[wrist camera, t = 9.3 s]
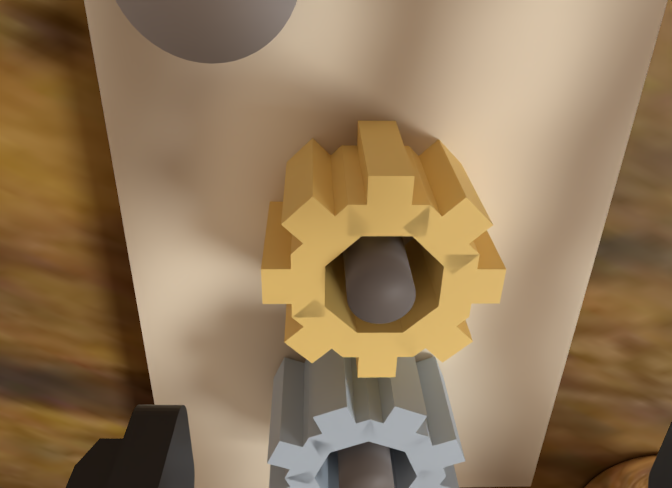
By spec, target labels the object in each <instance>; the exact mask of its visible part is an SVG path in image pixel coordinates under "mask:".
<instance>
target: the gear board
mask: <svg viewBox="0 0 672 488" xmlns="http://www.w3.org/2000/svg"><path fill="white" fill-rule="evenodd" d="M667 1H668V0H84V3H85V9H86V15H87V20H88V26H89V32H90V38H91V43H92V49H93V55H94V61H95V66H96V72H97V78H98V83H99V89H100V95H101V101H102V106H103V112H104V118H105V124H106V129H107V135H108V141H109V146H110V152H111V158H112V164H113V169H114V175H115V181H116V186H117V192H118V198H119V204H120V209H121V215H122V221H123V227H124V232H125V238H126V244H127V249H128V255H129V261H130V267H131V272H132V278H133V284H134V290H135V295H136V301H137V307H138V312H139V318H140V324H141V330H142V335H143V341H144V347H145V353H146V358H147V364H148V370H149V375H150V381H151V387H152V393H153V398H154V404H155V405H185V406H186V409H187V414H188V422H189V429H190V437H191V445H192V453H193V460H194V470H195V482H194V488H269V479H270V465H271V464H267V458H268V445H269V432H270V419H271V406H272V392H273V379H274V376H275V374H276V372H277V371H278V369H279V367H280V365H281V363H282V361H283V359H284V357H286V358H289V359H293V360H296V361H299V362H302V363H305V361H306V358H304V357H303V356H302V355H300V354H299V353H298V352H296V351H295V350H294V349H292V348H291V347H290V346H288V345H287V344H286V343H284V337H285V320H286V304H263V303H262V282H261V265H262V257H263V249H264V242H265V234H266V226H267V219H268V211H269V203H270V201H276V202H283V196H284V185H285V174H286V163H287V161H288V160H290V159H291V158H292V157H293V156H294V155H295V154H296V153H297V152H298V151H299V150H300V149H301V148H302V147H303V146H304V145H306V144H307V143H308V142H309V141H310V140H311V139H312V138H313V139H314V140H315V141H316V142H317V143H318V144H319V145H320V146H321V147H323V148H324V149H325V150H326V151H327V152H328V153H329V154H330V155H332V154H333V153H334V152H335V151H336V150H337V149H338V148H339V147H340V146H342V145H355V146H357V133H358V121H396V123H397V126H398V129H399V132H400V135H401V138H402V141H403V144H404V146H410V147H411V149H412V150H413V151H414V152H415V153H416V154H417V155H418V156H419V155H421V154H422V153H423V152H424V151H425V150H426V149H428V148H429V147H430V146H431V145H432V144H433V143H435V142H436V141H437V140H438V139H439V140H440V141H441V142H442V143H443V144H444V145H445V146H446V148H447V149H448V150H449V151H450V152H451V153H452V154H453V155H454V156H455V157H456V158H457V159H458V161H459V162H460V163H461V164H462V166H463V168H464V170H465V172H466V174H467V175H468V177H469V179H470V181H471V183H472V185H473V187H474V189H475V191H476V193H477V195H478V197H479V198H480V200H481V202H482V204H483V206H484V208H485V210H486V212H487V214H488V216H489V218H490V220H491V222H492V223H493V226H492V227H490V228H489V229H488V230H487V231H488V233H489V235H490V237H491V239H492V241H493V243H494V245H495V247H496V249H497V251H498V254H499V256H500V258H501V260H502V262H503V264H504V266H505V268H506V274H505V279H504V284H503V289H502V294H501V299H500V304H471V309H470V315H469V318H467V319H466V323H467V325H468V328H469V331H470V334H471V337H472V340H473V342H472V343H470V344H469V345H467V346H466V347H464V348H463V349H462V350H460V351H459V352H457V353H456V354H454V355H453V356H452V357H450V358H449V359H447V360H446V361H444V362H443V363H442V362H441V361H440V360H439V359H438V358H436V360H437V362H438V365H439V367H440V370H441V372H442V375H443V377H444V381H445V385H446V389H447V393H448V397H449V400H450V404H451V408H452V412H453V416H454V419H455V423H456V427H457V431H458V435H459V438H460V442H461V446H462V450H463V454H464V457H465V461H464V462H461V463H457V464H454V468H455V472H456V477H457V481H458V485H459V487H529V486H531V483H532V480H533V476H534V473H535V469H536V466H537V462H538V458H539V455H540V451H541V448H542V444H543V441H544V437H545V434H546V430H547V427H548V423H549V419H550V416H551V412H552V409H553V405H554V402H555V398H556V395H557V391H558V388H559V384H560V380H561V377H562V373H563V370H564V366H565V363H566V359H567V356H568V352H569V349H570V345H571V341H572V338H573V334H574V331H575V327H576V324H577V320H578V317H579V313H580V310H581V306H582V302H583V299H584V295H585V292H586V288H587V285H588V281H589V278H590V274H591V270H592V267H593V263H594V260H595V256H596V253H597V249H598V246H599V242H600V239H601V235H602V231H603V228H604V224H605V221H606V217H607V214H608V210H609V207H610V203H611V200H612V196H613V192H614V189H615V185H616V182H617V178H618V175H619V171H620V168H621V164H622V161H623V157H624V153H625V150H626V146H627V143H628V139H629V136H630V132H631V129H632V125H633V122H634V118H635V114H636V111H637V107H638V104H639V100H640V97H641V93H642V90H643V86H644V83H645V79H646V75H647V72H648V68H649V65H650V61H651V58H652V54H653V51H654V47H655V44H656V40H657V36H658V33H659V29H660V26H661V22H662V19H663V15H664V12H665V8H666V5H667ZM413 238H414V237H413V236H361V237H360V238H359V239H358V240H357V241H355V242H354V243H353V244H352V245H350V246H349V247H348V248H347V249H346V250H344V251H343V257H344V269H345V281H346V293H347V302H348V306H349V308H350V310H351V311H352V312H353V314H354V315H355V316H357V317H358V318H359V319H361V320H363V321H366V322H369V323H374V324H385V323H390V322H393V321H396V320H398V319H400V318H402V317H403V316H404V315H406V314H407V313H408V312H409V311H410V309H411V308H412V306H413V304H414V302H415V298H416V290H415V286H414V282H413V278H412V274H411V270H410V266H409V262H408V258H407V254H406V250H405V245H406V244H407V243H408V242H410V241H411V240H412V239H413ZM431 357H435V356H434V355H433V354H432V353H431V352H429V351H428V350H427V349H426V348H425V349H424V350H422V351H421V352H419V353H418V354H417V355H415V361H416V362H418V361H422V360H425V359H428V358H431ZM337 452H338V474H339V488H395V486H394V479H393V471H392V464H391V456H390V449H389V447H386V446H383V445H379V444H376V443H372V442H369V441H368V442H365V443H361V444H358V445H354V446H351V447H348V448H344V449H341V450H337Z"/></svg>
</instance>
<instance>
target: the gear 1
mask: <svg viewBox="0 0 672 488" xmlns="http://www.w3.org/2000/svg"><path fill="white" fill-rule="evenodd" d="M492 226H493V223H492V222H491V220H490V218H489V216H488V214H487V212H486V210H485V208H484V206H483V204H482V202H481V200H480V198H479V197H478V195H477V193H476V191H475V189H474V187H473V185H472V183H471V181H470V179H469V177H468V175H467V174H466V172H465V170H464V168H463V166H462V164H461V163H460V162H459V161H458V159H457V158H456V157H455V156H454V155H453V154H452V153H451V152H450V151H449V150H448V149H447V148H446V146H445V145H444V144H443V143H442V142H441V141H440V140H439V139H438V140H437V141H436V142H435V143H433V144H432V145H431V146H430V147H429V148H428V149H426V150H425V151H424V152H423V153H422V154H421V155H419V156H418V155H417V154H416V153H415V152H414V151H413V150H412V149H411V147H410V146H404V144H403V141H402V138H401V135H400V132H399V129H398V126H397V123H396V121H358V133H357V146H355V145H342V146H340V147H339V148H338V149H337V150H336V151H335V152H334V153H333V154H332V155H330V154H329V153H328V152H327V151H326V150H325V149H324V148H323V147H321V146H320V145H319V144H318V143H317V142H316V141H315V140H314V139H313V138H312V139H311V140H310V141H309V142H308V143H307V144H306V145H304V146H303V147H302V148H301V149H300V150H299V151H298V152H297V153H296V154H295V155H294V156H293V157H292V158H291V159H290V160H288V161H287V163H286V174H285V185H284V196H283V202H276V201H270V203H269V211H268V219H267V226H266V234H265V242H264V249H263V257H262V265H261V282H262V303H263V304H286V320H285V337H284V343H286V344H287V345H288V346H290V347H291V348H292V349H294V350H295V351H296V352H298V353H299V354H300V355H302V356H303V357H304V358H306V359H307V360H308V361H309V362H311V363H314V362H315V361H316V360H317V359H319V358H320V357H321V356H323V355H324V354H325V353H327V352H328V351H329V350H331V349H333V350H334V351H335V352H337V353H338V354H339V355H340V356H342V357H356V365H357V376H358V378H370V377H396V366H397V357H414V356H415V355H417V354H418V353H419V352H421V351H422V350H424V349H425V348H426V349H427V350H428V351H429V352H431V353H432V354H433V355H434V356H435V357H436V358H438V359H439V360H440V361H441V362H442V363H443V362H444V361H446V360H447V359H449V358H450V357H452V356H453V355H454V354H456V353H457V352H459V351H460V350H462V349H463V348H464V347H466V346H467V345H469V344H470V343H472V342H473V340H472V337H471V334H470V331H469V328H468V325H467V323H466V319H467V318H469V315H470V309H471V304H500V299H501V294H502V289H503V284H504V279H505V274H506V268H505V266H504V264H503V262H502V260H501V258H500V256H499V254H498V251H497V249H496V247H495V245H494V243H493V241H492V239H491V237H490V235H489V233H488V231H487V230H488V229H489V228H490V227H492ZM361 236H413V237H414V238H413V239H412V240H411V241H410V242H408V243H407V244H406V245H405V250H406V254H407V258H408V262H409V266H410V270H411V274H412V278H413V282H414V286H415V290H416V298H415V302H414V304H413V306H412V308H411V309H410V311H409V312H408V313H407V314H406V315H404V316H403V317H402V318H400V319H398V320H396V321H393V322H390V323H385V324H374V323H369V322H366V321H363V320H361V319H359V318H358V317H357V316H355V315H354V314H353V312H352V311H351V310H350V308H349V306H348V302H347V293H346V281H345V269H344V257H343V251H344V250H346V249H347V248H348V247H349V246H350V245H352V244H353V243H354V242H355V241H357V240H358V239H359V238H360V237H361Z"/></svg>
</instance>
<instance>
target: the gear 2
mask: <svg viewBox="0 0 672 488" xmlns="http://www.w3.org/2000/svg"><path fill="white" fill-rule="evenodd" d="M368 441H369V442H372V443H376V444H379V445H383V446H386V447H389V449H390V456H391V464H392V471H393V479H394V486H395V488H459V485H458V481H457V477H456V472H455V468H454V464H457V463H461V462H464V461H465V457H464V454H463V450H462V446H461V442H460V438H459V435H458V431H457V427H456V423H455V419H454V416H453V412H452V408H451V404H450V400H449V397H448V393H447V389H446V385H445V381H444V377H443V375H442V372H441V370H440V367H439V365H438V362H437V360H436V357H431V358H428V359H425V360H422V361H418V362H416V361H415V356H414V357H397V366H396V377H370V378H358V376H357V365H356V357H342V356H340V355H339V354H338V353H337V352H335V351H334V350H333V349H331V350H329V351H328V352H327V353H325V354H324V355H323V356H321V357H320V358H319V359H317V360H316V361H315V362H314V363H311V362H309V361H308V360H307V359H306V361H305V363H302V362H299V361H296V360H293V359H289V358H286V357H284V359H283V361H282V363H281V365H280V367H279V369H278V371H277V372H276V374H275V376H274V379H273V392H272V406H271V419H270V432H269V445H268V458H267V464H271V465H270V479H269V488H339V474H338V452H337V450H341V449H344V448H348V447H351V446H354V445H358V444H361V443H365V442H368Z"/></svg>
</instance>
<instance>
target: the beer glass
mask: <svg viewBox="0 0 672 488" xmlns="http://www.w3.org/2000/svg"><path fill="white" fill-rule="evenodd" d="M656 457H657V455H652V456H644V457H639V458H635V459H631V460H628V461H625V462H622V463H619V464H617V465H615V466H613V467H611V468H609V469H607V470H605V471H603V472H602V473H600V474H599V475H597V476H596V477H595V478H594V479H592V480H591V481H590V482H589V483H588V484H587V485H586V486H585V487H584V488H648V478H649V473H650V471H651V468H652V466H653V464H654V461H655V459H656Z"/></svg>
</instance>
